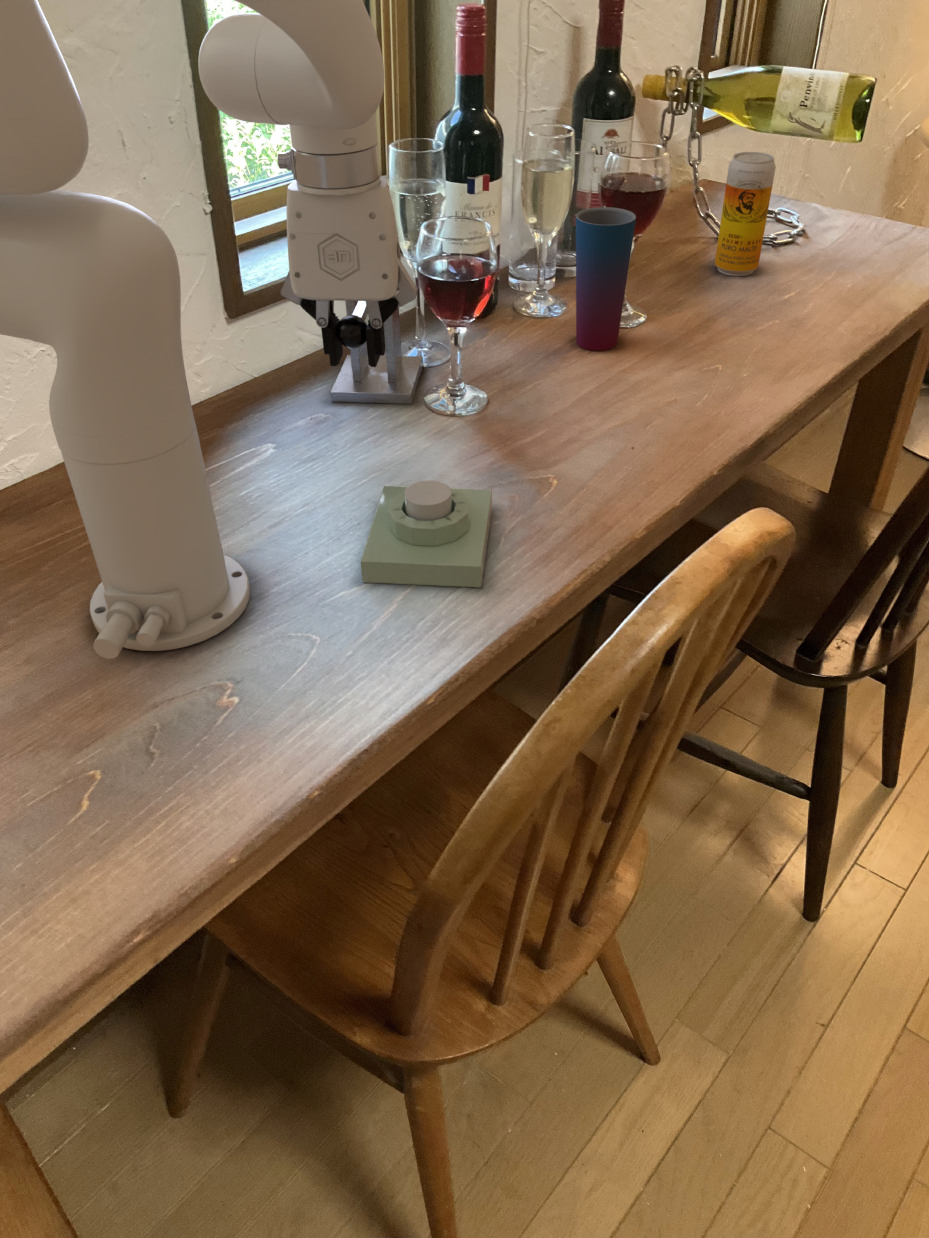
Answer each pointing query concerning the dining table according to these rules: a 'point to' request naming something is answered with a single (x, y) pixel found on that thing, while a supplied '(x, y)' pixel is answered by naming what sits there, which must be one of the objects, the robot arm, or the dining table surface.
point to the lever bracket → (378, 370)
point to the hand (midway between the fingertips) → (355, 359)
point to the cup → (601, 274)
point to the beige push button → (428, 500)
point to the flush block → (428, 542)
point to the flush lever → (353, 327)
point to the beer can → (744, 213)
